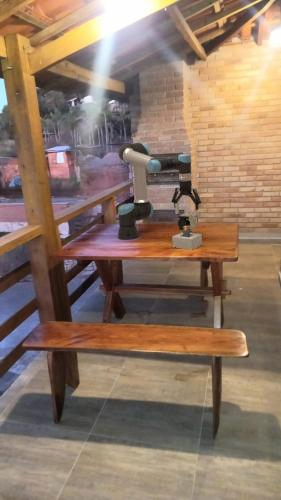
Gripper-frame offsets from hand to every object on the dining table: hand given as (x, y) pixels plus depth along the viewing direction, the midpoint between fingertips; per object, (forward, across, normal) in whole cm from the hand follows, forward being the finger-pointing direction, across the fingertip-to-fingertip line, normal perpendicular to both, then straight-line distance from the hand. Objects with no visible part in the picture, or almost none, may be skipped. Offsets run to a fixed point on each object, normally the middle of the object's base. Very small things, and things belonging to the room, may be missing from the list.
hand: (186, 214), depth 240 cm
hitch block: (+21, 0, 0) cm, 21 cm away
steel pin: (+20, 0, 0) cm, 20 cm away
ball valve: (+21, -10, +19) cm, 30 cm away
